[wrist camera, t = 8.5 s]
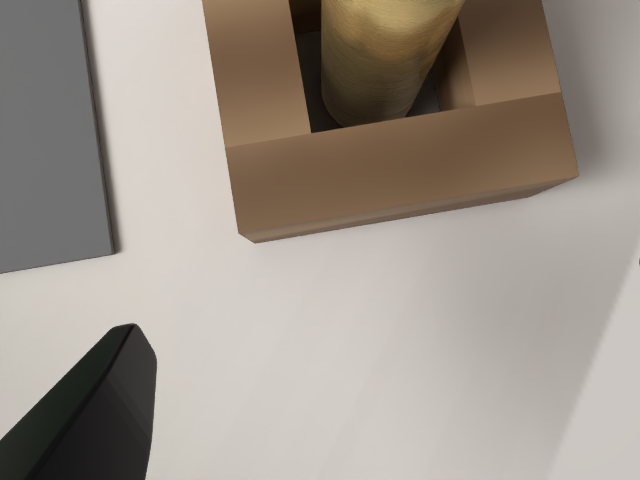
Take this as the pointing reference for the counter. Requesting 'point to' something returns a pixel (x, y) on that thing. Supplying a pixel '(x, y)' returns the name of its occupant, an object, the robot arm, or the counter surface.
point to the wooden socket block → (386, 123)
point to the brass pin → (379, 55)
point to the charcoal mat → (48, 140)
